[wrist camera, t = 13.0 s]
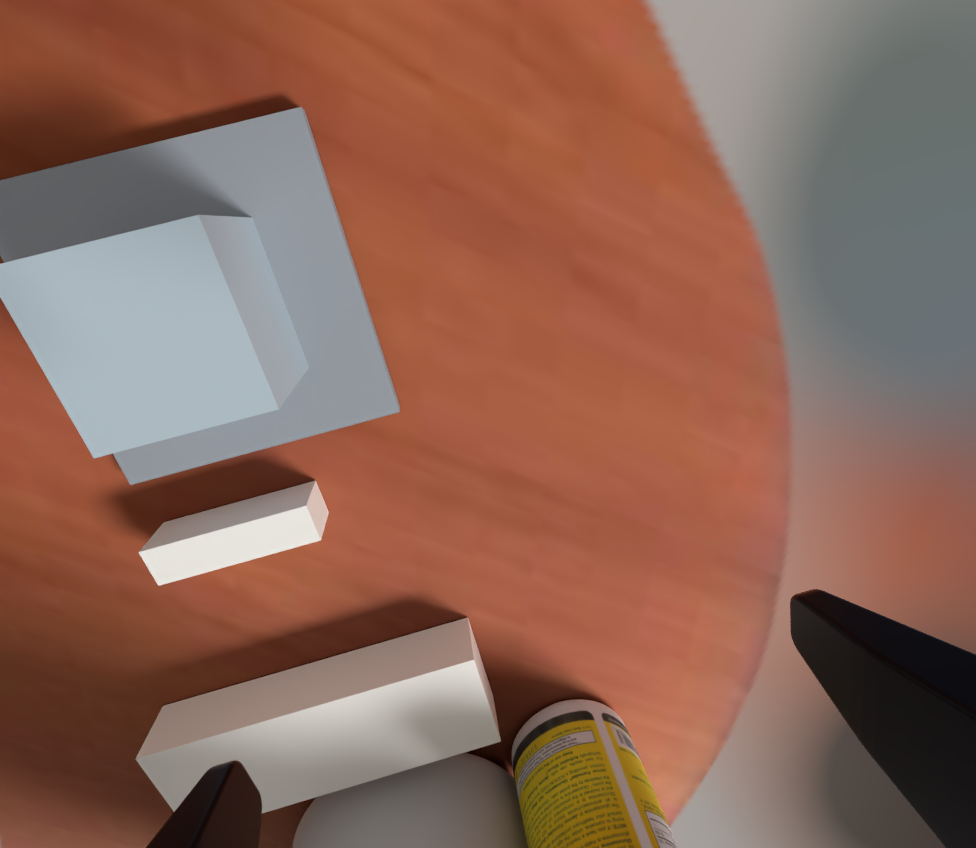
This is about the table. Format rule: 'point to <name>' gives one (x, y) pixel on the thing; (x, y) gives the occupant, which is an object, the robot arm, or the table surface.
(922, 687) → the robot arm
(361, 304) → the mat
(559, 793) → the pill bottle
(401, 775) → the cylinder vase
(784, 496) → the table surface
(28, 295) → the pale blue cube
